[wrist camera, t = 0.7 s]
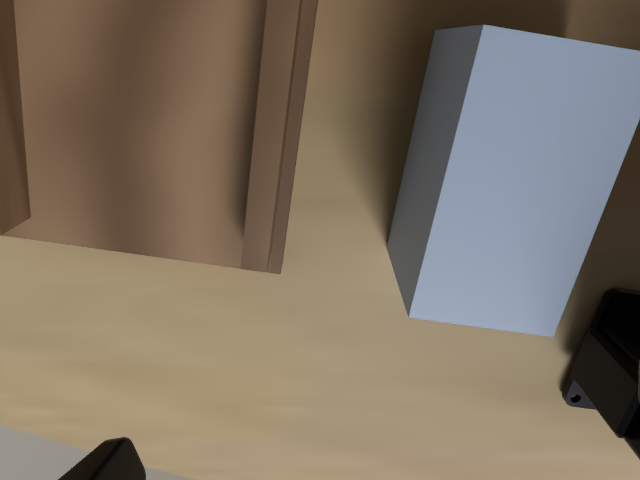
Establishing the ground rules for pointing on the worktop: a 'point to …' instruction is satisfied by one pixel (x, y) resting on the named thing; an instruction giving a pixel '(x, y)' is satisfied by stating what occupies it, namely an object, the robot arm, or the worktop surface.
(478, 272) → the pale blue cuboid
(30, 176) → the walnut rack
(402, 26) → the worktop surface
